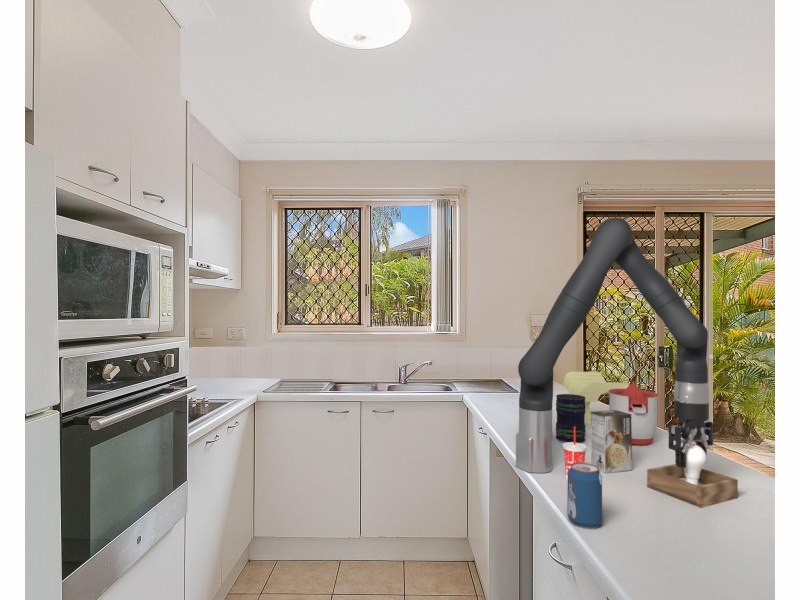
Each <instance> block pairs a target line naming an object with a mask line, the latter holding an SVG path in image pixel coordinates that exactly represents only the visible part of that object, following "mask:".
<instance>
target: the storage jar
mask: <svg viewBox="0 0 800 600" xmlns="http://www.w3.org/2000/svg"><path fill="white" fill-rule="evenodd" d="M555 396H556V397H555V398H556V400H555V412H556V422H555V434H556V436H555V439H556V440H558V441H559V442H564V443H566V442H574V426H575V427H576V443H581V444H583V443H584V442H586V438H585V437H586V423H585V412H586V411H585V408H586V405H585V397H584V396H580V395H573V394H569V393H562V394H556V395H555Z"/></svg>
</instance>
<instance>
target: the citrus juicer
mask: <svg viewBox="0 0 800 600" xmlns="http://www.w3.org/2000/svg"><path fill="white" fill-rule="evenodd" d="M609 392H610V393H609V394H608V395H609V397H608V398H609V399H608V400H609V404H608V405H609V410H608V411H611V410H617V411H621V412H625V413H628V414H631V426H632V445H640V446H641V445H643V446H648V445H650V444H652V442H653V441H654V438H655V434H656V432H657V427H658V405H659V404H658V401H659V398H658V396H659V394H658V393H657V392H654V391H651V390H650V391H649V390H646V389H644V390H643V389H640V388H639V387H638V386H637V385H636V384H635V383H631V384H629V386H628V387H627V388H626V389H611V390H609Z"/></svg>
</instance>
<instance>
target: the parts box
mask: <svg viewBox="0 0 800 600" xmlns="http://www.w3.org/2000/svg"><path fill="white" fill-rule="evenodd" d="M646 473H647V474H646V487H647V488H648V489H649V488H650V489H652V490H655V491H657V492H658V493H662V494H664V495H667V496H669V497H673V498H674V499H678V500H680V501H683V502H685V503H688V504H690V505H693V506H695V507H699V508H704V507H708V506H713V505H717V504H720V503H723V502H728V501H731V500H736V499H738V498H739V497H738V496H739V495H738V493H739V492H738V490H739V489H738V485H739V484H738V483H739V482H738V480H739V479H736V478H733V477H730V476H727V475H724V474H721V473H718V472H715V471H712V470H707V469H704V468H702V469H701V471H700V477H699V479H698V486H697V485H695V484H692V483H689V482H686V476H685V471H684V468H681V467H678V466H676V463H673V464H668V465H663V466H659V467H658V466H657V467H652V468H648V469H647V471H646Z"/></svg>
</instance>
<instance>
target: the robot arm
mask: <svg viewBox="0 0 800 600" xmlns="http://www.w3.org/2000/svg"><path fill="white" fill-rule="evenodd" d="M593 234H594V235H593V237H592V238H591V242H590V243H589V245H588V248H587V249H586V252H585V254H584V256H583V258H582V260H581V262H579V264H578V266H577V267H576V268H575V270H574V271H573V272H572V274H571V276H570V277H569V278H568V280H567V282H566V284H565V285H564V286H563V288H562V289H561V291H560V292H559V295H558V297H557V298H556V300H555V301H554V303H553V305H552V307H551V309H550V311H549V313H548V315H547V316H546V320H545V322H544V325H542V326H543V327H542V329H541V331H540V333H539V334H538V336H537V338H536V340H535V341H534V342H533V343H532V345H531V346H530V347H529V349H528V350H527V351H526V353H525V354H524V355H523V356H522V358H521V359H520V361H519V363H518V365H517V366H518V367H517V372H518V376H519V378H520V390H519V398H518V432H517V433H516V434H515V467H516V468H517V469H520V470H523V471H524V472H527V473H530V474H531V473H535V474H537V473H538V474H539V473H540V474H545V473H549V472H552V470H553V401H554V400H553V399H554V367H555V365H556V364H557V360H558V358H559V357H560V355H561V352H562V351H563V350H564V348H565V346H566V345H567V344H568V342H569V341H570V340H571V339H572V338H573V336H574V335H575V334H576V333H577V331H578V330H579V329H580V327H581V326H582V324H583V323H584V321H585V320H586V319H587V317H588V315H589V313H590V312H591V310H592V308H593V307H594V305H595V303H596V301H597V300H598V299H597V298H598V296H599V295H600V292H601V291H602V290H601V289H602V286H603V284H604V281H605V279H606V276H607V275H608V273H609V271H610V269H611V267H612V266H613V264H614V263H616V264H617V265H618V266H619V267H620V268H621V269H622V270H623V271H624V272H625V274H626V275H627V277H629V279H630V280H631V282H632V284H633V285H634V286H635V287H636V288H637V290H638V292H639V293H640V294H641V296H642V297H643V299H644V300H645V301H646V303H647V304H648V305H649V306H650V307H651V309H652V310H653V311H654V313H655V314H656V315H657V317H658V318H660V319H661V320H662V322H663V324H664V325H665V327H667V330H668V331H669V333H670V334H671V335H672V337H673V338H674V339H675V340H676V361H675V373H674V375H675V378H674V379H675V381H674V382H675V383H674V389H673V393H674V394H673V415H674V417H675V418H677V419H678V422H677V425H673V424H669V425H668V449H669V450H673V451H674V452H675V454H674V455H675V456H674V458H675V459H674V462H675V463H674V464H676V466H678V467H681V468H685V467H686V453H685V452H686V449H687V447H688V446H689V445H691V444H692V442H694V444H695V445H698V446H699V447H701V448H702V449H703V450H704V452H705V453H706V457H707V453H708V452H707V450H708V449H709V446H710V447H711V446H713V445H714V422H712V421H709V419H710V391H709V390H710V388H709V383H708V382H709V368H708V362H707V359H708V358H707V356H708V338H709V337H708V336H709V331H708V328H707V327H706V326H705V325H704V324H703V323H702V322H701V321H700V320H699V319H698V318H697V316H696V315H695V313H693V312H692V310H691V309H690V308H688V307H687V305H686V303H685V301H684V300H683V298H682V297H681V295H680V294H679V293H678V292H677V290H675V288H674V287H673V286H672V284H671V283H670V282H669V281H668V280H667V279H666V278H665V277H664V276H663V275H662V274H661V272H659V270H657V269H656V268H655V267H654V266H653V264H652V263H651V262H649V260H648V259H647V258H646V256H645V255H644V254H643V253H642V251H641V249H640V247H639V246H638V244H637V242H636V240H635V239H634V234H633V230H632V227H631V226H630V224H629V223H628V222H627V221H626V220H625V219H624V218H621V217H611V218H607V219H605V220H603V221H602V222H601V223H600V224H598V227H597V228H596V229H595V232H594V233H593ZM707 436H708V437H707ZM674 441H675V443H674Z"/></svg>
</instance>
